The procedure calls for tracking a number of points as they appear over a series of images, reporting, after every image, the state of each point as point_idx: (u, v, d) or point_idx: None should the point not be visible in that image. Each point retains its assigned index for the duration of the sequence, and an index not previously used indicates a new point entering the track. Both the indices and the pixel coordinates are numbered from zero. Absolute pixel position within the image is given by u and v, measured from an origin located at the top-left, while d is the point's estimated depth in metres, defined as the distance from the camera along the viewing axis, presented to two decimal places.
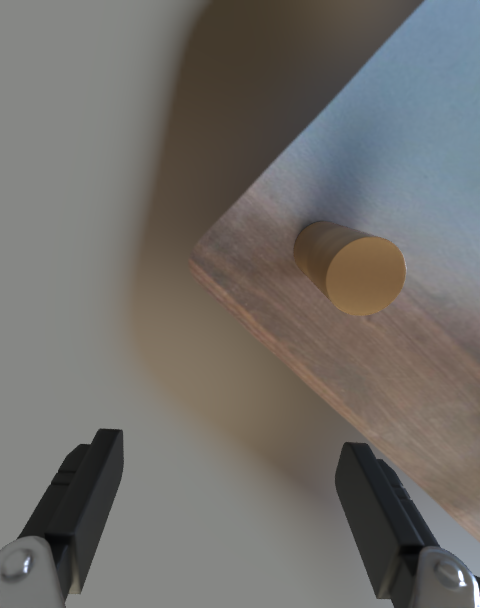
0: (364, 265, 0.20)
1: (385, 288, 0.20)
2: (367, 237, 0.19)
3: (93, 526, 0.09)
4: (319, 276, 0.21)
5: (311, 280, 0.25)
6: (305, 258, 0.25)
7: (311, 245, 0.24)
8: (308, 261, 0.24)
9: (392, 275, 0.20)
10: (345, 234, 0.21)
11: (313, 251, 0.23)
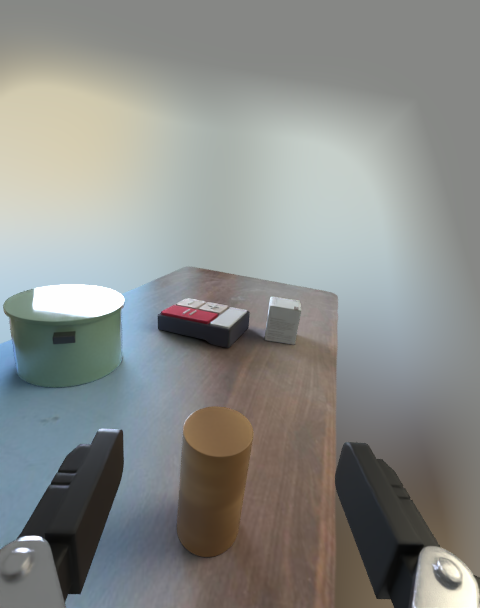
0: (210, 433, 0.23)
1: (219, 414, 0.25)
2: (187, 441, 0.22)
3: (93, 526, 0.09)
4: (235, 468, 0.22)
5: (242, 493, 0.24)
6: (225, 512, 0.23)
7: (210, 511, 0.23)
8: (226, 503, 0.23)
9: (208, 415, 0.25)
10: (189, 470, 0.22)
11: (215, 500, 0.22)
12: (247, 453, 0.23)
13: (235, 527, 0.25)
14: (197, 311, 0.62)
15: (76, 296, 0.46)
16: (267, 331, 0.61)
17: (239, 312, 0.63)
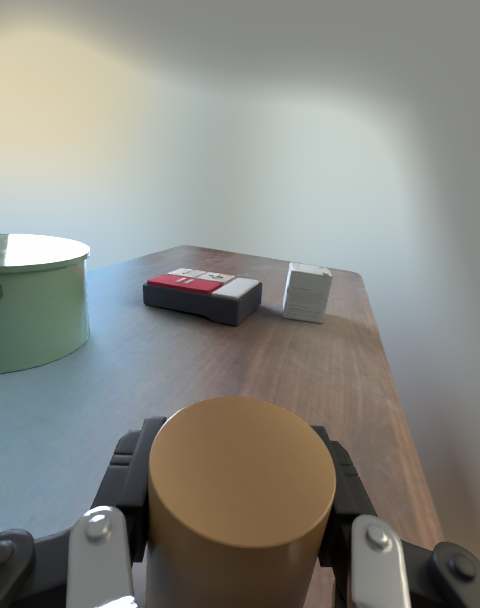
0: (221, 465, 0.09)
1: (242, 414, 0.11)
2: (157, 490, 0.08)
3: None
4: (298, 571, 0.08)
5: None
6: None
7: None
8: None
9: (215, 416, 0.10)
10: (164, 571, 0.08)
11: None
12: (326, 521, 0.08)
13: None
14: (195, 280, 0.47)
15: (18, 244, 0.32)
16: (287, 305, 0.46)
17: (249, 282, 0.49)
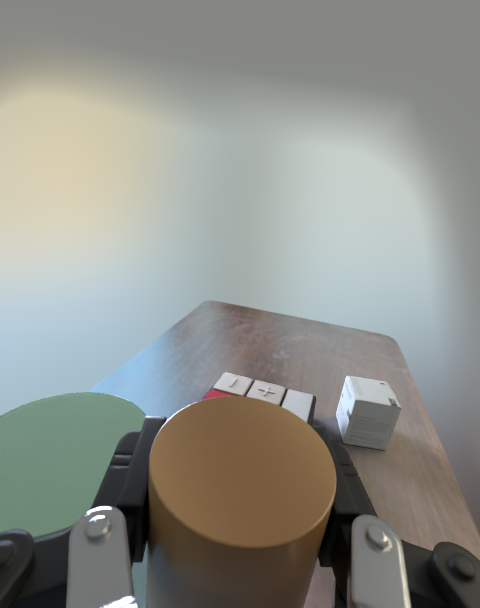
0: (222, 464, 0.09)
1: (242, 414, 0.10)
2: (157, 490, 0.08)
3: None
4: (299, 571, 0.08)
5: None
6: None
7: None
8: None
9: (215, 415, 0.10)
10: (165, 571, 0.08)
11: None
12: (327, 521, 0.08)
13: None
14: None
15: (73, 431, 0.28)
16: (348, 432, 0.43)
17: (304, 401, 0.45)
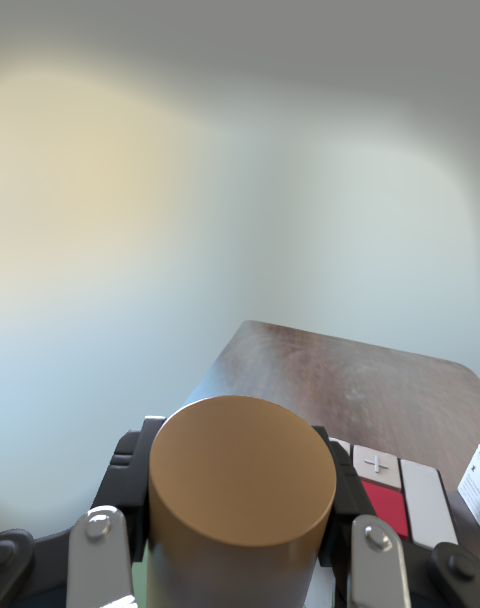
0: (222, 464, 0.09)
1: (242, 414, 0.11)
2: (157, 489, 0.08)
3: None
4: (299, 570, 0.08)
5: None
6: None
7: None
8: None
9: (215, 414, 0.10)
10: (165, 570, 0.08)
11: None
12: (327, 520, 0.08)
13: None
14: None
15: None
16: None
17: (431, 480, 0.34)
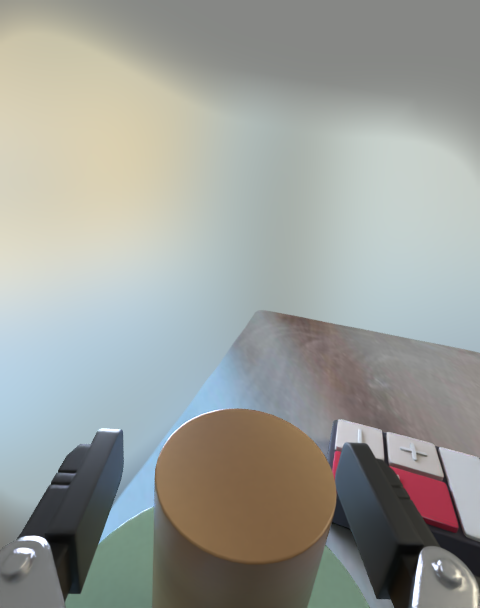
0: (225, 480, 0.09)
1: (244, 428, 0.11)
2: (162, 506, 0.08)
3: (93, 526, 0.09)
4: (300, 585, 0.08)
5: None
6: None
7: None
8: None
9: (218, 429, 0.11)
10: (170, 583, 0.08)
11: None
12: (327, 535, 0.08)
13: None
14: (400, 476, 0.29)
15: None
16: None
17: (475, 469, 0.31)
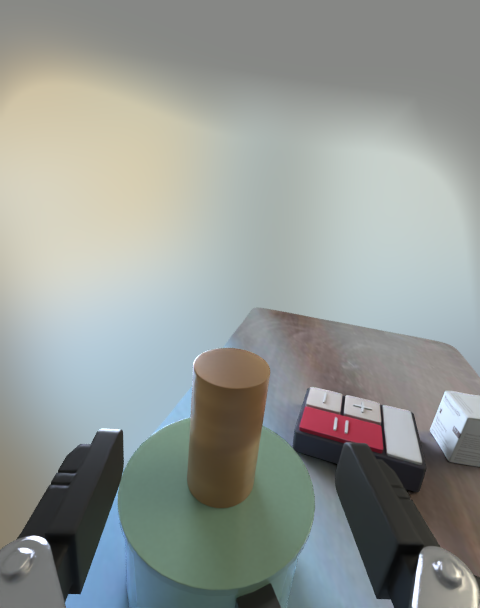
0: (223, 369, 0.21)
1: (232, 354, 0.23)
2: (198, 374, 0.20)
3: (93, 526, 0.09)
4: (252, 404, 0.20)
5: (258, 438, 0.22)
6: (240, 456, 0.21)
7: (224, 454, 0.21)
8: (242, 445, 0.21)
9: (220, 354, 0.23)
10: (201, 407, 0.20)
11: (229, 441, 0.20)
12: (264, 389, 0.21)
13: (251, 477, 0.23)
14: (349, 421, 0.41)
15: None
16: (456, 451, 0.41)
17: (405, 418, 0.43)
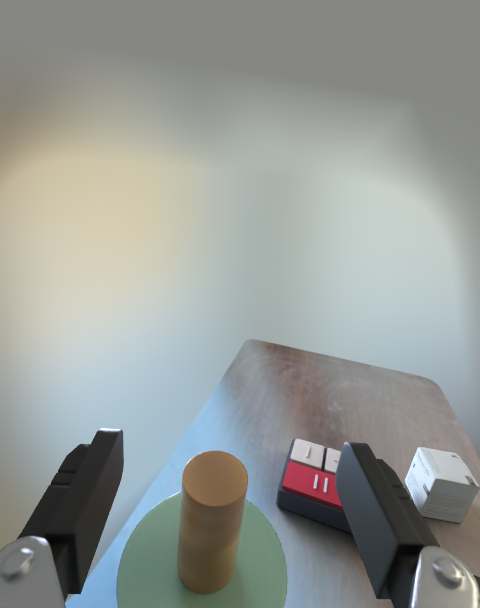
0: (207, 481, 0.25)
1: (216, 460, 0.27)
2: (186, 489, 0.24)
3: (93, 526, 0.09)
4: (231, 515, 0.24)
5: (238, 535, 0.26)
6: (221, 554, 0.25)
7: (208, 554, 0.24)
8: (223, 546, 0.24)
9: (206, 460, 0.26)
10: (188, 516, 0.24)
11: (212, 544, 0.24)
12: (242, 500, 0.24)
13: (231, 565, 0.27)
14: (328, 479, 0.45)
15: None
16: (425, 506, 0.45)
17: None
